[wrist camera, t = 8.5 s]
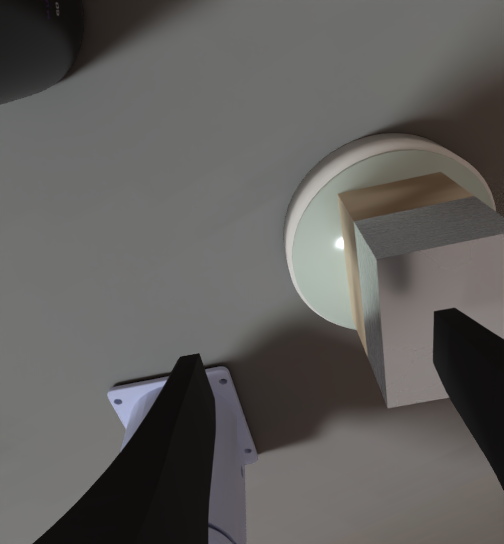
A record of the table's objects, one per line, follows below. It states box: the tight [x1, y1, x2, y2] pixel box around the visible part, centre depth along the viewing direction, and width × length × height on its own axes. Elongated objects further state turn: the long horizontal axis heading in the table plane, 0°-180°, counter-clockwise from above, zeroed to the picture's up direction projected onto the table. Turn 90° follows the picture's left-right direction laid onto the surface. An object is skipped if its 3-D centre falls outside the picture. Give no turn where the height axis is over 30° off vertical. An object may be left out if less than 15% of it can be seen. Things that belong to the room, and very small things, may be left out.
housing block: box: [338, 172, 504, 408], centre depth 18 cm, size 4×7×6 cm, turn 12°
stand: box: [283, 133, 496, 330], centre depth 21 cm, size 10×10×2 cm
